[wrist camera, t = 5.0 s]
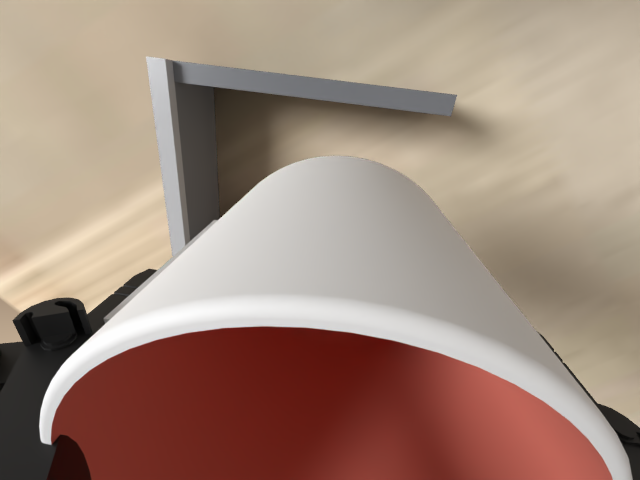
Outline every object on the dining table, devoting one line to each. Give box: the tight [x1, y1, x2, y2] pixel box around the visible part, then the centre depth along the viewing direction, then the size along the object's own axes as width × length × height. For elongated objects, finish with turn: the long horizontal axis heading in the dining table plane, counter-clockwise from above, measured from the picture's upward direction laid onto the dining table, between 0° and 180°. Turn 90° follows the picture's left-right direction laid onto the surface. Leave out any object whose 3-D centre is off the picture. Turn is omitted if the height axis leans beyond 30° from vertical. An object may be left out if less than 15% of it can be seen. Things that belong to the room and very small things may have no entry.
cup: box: [39, 156, 633, 480], centre depth 10 cm, size 10×10×10 cm
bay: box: [146, 57, 457, 256], centre depth 24 cm, size 16×19×7 cm
